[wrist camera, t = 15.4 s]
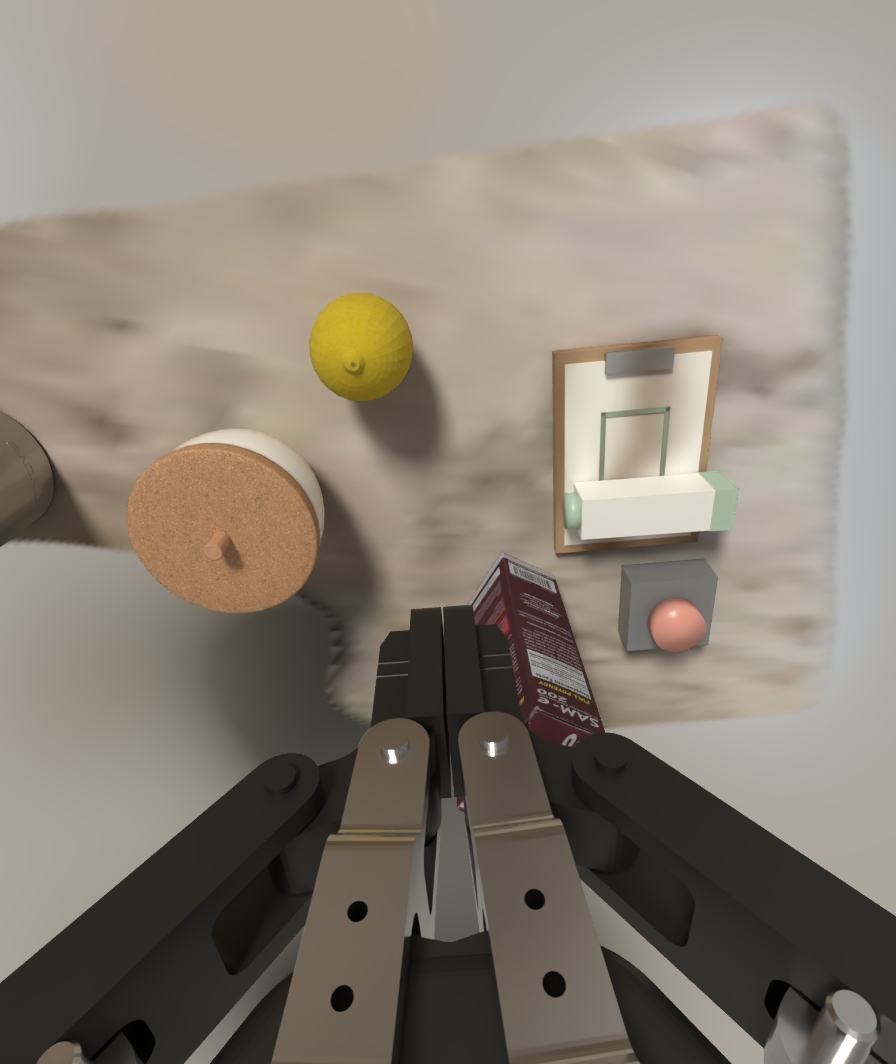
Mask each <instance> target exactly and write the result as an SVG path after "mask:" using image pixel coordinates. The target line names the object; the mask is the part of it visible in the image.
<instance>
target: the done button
mask: <svg viewBox="0 0 896 1064" xmlns="http://www.w3.org/2000/svg"><path fill="white" fill-rule="evenodd" d="M647 624H648V628H649V630H650V632H651V634H652V636H653V638H654V640H655V642H656V644H657V645H658V646H659V647H660V648H662V649H664V650H666V651H670V652H681V651H685V650H688V649H690V648H692V647H694V646H695V645H697V644H698V643H699V642H700V641H701V640H702V638H703V637H704V635H705V633H706V622H705V620H704V618H703V617H702V615H701V614H700V612H699V611H698V609H697V608H696V606H695V605H694V604H693V603H692V602H691V601H689V600H687V599H683V598H671V599H668V600H665V601H663V602H661V603H659V604H658V605H656V606H655V607H654V608H653V609H652V610H651V612H650V614H649V616H648V620H647Z"/></svg>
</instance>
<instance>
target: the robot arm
mask: <svg viewBox="0 0 896 1064" xmlns="http://www.w3.org/2000/svg"><path fill="white" fill-rule="evenodd" d="M53 491H54V480H53V473H52V470H51V467H50V464H49V461H48V459H47V457H46V455H45V454H44V452H43V450H42V448H41V447H40V445H39V444H38V443H37V442H36V440H35V439H34V438H33V437H32V435H31V434H30V433H29V432H28V431H26V430H25V429H24V428H23V427H22V426H21V425H20V424H19V423H18V422H16V421H15V420H13V419H12V418H10V417H9V416H7V415H6V414H4V413H3V412H1V411H0V547H1V546H2V545H4V544H5V543H7V542H8V541H9V540H11V539H12V538H13V537H14V536H16V535H17V534H18V533H20V532H21V531H22V530H24V529H25V528H26V527H28V526H29V525H30V524H32V523H33V522H34V521H36V520H37V519H38V518H40V516H41V515H42V514H43V513H44V512H45V511H46V510H47V509H48V507H49V505H50V503H51V500H52V497H53ZM443 615H444V635H443V624H442V613H441V607H436V608H422V609H411V619H410V630H407V631H393V632H390V633H389V635H388V636H387V637H386V639H385V640H384V642H383V643H382V644H381V646H380V653H379V661H378V663H379V665H378V670H377V679H376V687H375V696H374V704H373V713H372V721H371V728H370V729H369V730H368V731H367V732H366V733H365V734H364V735H363V737H362V739H361V741H360V744H359V747H358V748H357V749H356V750H354V751H353V752H351V753H350V754H348V755H346V756H345V757H342V758H340V759H337V760H335V761H332V762H328V763H326V764H323V765H320V766H317V765H316V764H315V762H314V761H313V760H312V759H311V758H309V757H307V756H305V755H302V754H296V753H288V754H282V755H279V756H275V757H273V758H270V759H268V760H267V761H265V762H263V763H262V764H261V765H259V766H258V767H257V768H256V769H254V770H253V771H252V772H251V773H250V774H248V775H247V776H246V777H245V778H244V779H242V780H241V781H240V782H239V783H238V784H236V785H235V786H234V787H233V788H232V789H231V790H229V791H228V792H227V793H226V794H225V795H224V796H222V797H221V798H220V799H219V800H218V801H216V802H215V803H214V804H213V805H211V806H210V807H209V808H208V809H207V810H206V811H204V812H203V813H202V814H201V815H200V816H198V817H197V818H196V819H195V820H194V821H193V822H191V823H190V824H189V825H188V826H187V827H185V828H184V829H183V830H182V831H181V832H179V833H178V834H177V835H176V836H175V837H173V838H172V839H171V840H170V841H169V842H168V843H167V844H165V845H164V846H163V847H162V848H160V849H159V850H158V851H157V852H156V853H154V854H153V855H152V856H151V857H150V858H148V859H147V860H146V861H145V862H144V863H143V864H142V865H140V866H139V867H138V868H137V869H136V870H134V871H133V872H132V873H131V874H129V875H128V876H127V877H126V878H125V879H124V880H122V881H121V882H120V883H119V884H118V885H116V886H115V887H114V888H113V889H112V890H110V891H109V892H108V893H107V894H106V895H104V896H103V897H102V898H101V899H100V900H98V901H97V902H96V903H95V904H94V905H93V906H91V907H90V908H89V909H88V910H87V911H85V912H84V913H83V914H82V915H81V916H79V917H78V918H77V919H76V920H75V921H74V922H72V923H71V924H70V925H69V926H68V927H66V928H65V929H64V930H63V931H62V932H61V933H60V934H58V935H57V936H56V937H55V938H53V939H52V940H51V941H50V942H49V943H47V944H46V945H45V946H44V947H43V948H41V949H40V950H39V951H38V952H37V953H35V954H34V955H33V956H32V957H31V958H30V959H28V960H27V961H26V962H25V963H24V964H23V965H21V966H20V967H19V968H18V969H17V970H15V971H14V972H13V973H12V974H10V975H9V976H8V977H7V978H6V979H5V980H3V981H2V982H1V983H0V1064H184V1063H185V1061H186V1060H187V1059H188V1058H189V1057H190V1056H191V1055H192V1053H193V1052H194V1051H195V1050H196V1049H197V1048H198V1047H199V1045H200V1044H201V1043H202V1042H203V1041H204V1040H205V1039H206V1037H207V1036H208V1035H209V1034H210V1033H211V1032H212V1031H213V1029H214V1028H215V1027H216V1026H217V1025H218V1024H219V1023H220V1021H221V1020H222V1019H223V1018H224V1017H225V1016H226V1014H227V1013H228V1012H229V1011H230V1010H231V1009H232V1008H233V1007H234V1005H235V1004H236V1003H237V1002H238V1001H239V1000H240V999H241V997H242V996H243V995H244V994H245V993H246V992H247V991H248V989H249V988H250V987H251V986H252V985H253V984H254V983H255V981H256V980H257V979H258V978H259V977H260V976H261V974H262V973H263V972H264V971H265V970H266V969H267V967H269V965H270V964H271V963H272V962H273V961H274V960H275V959H276V957H277V956H278V955H279V954H280V953H281V952H282V951H283V949H284V948H285V947H286V946H287V945H288V944H289V942H290V941H291V940H292V939H293V938H294V937H295V935H296V934H297V933H298V932H299V931H300V930H301V929H302V927H303V926H304V925H305V928H304V932H303V936H302V940H301V944H300V948H299V952H298V956H297V960H296V964H295V968H294V972H292V973H291V974H289V975H288V976H287V977H286V978H284V979H283V980H282V981H281V982H280V983H278V984H277V985H276V986H275V987H274V988H273V989H272V990H271V991H270V992H269V993H268V994H267V995H266V996H265V997H264V998H263V999H262V1000H261V1001H260V1002H259V1003H258V1004H257V1006H256V1007H255V1008H254V1009H253V1011H252V1012H251V1013H250V1014H249V1015H248V1017H247V1018H246V1019H245V1021H244V1022H243V1023H242V1024H241V1025H240V1027H239V1028H238V1029H237V1031H236V1032H235V1033H234V1034H233V1035H232V1037H231V1038H230V1039H229V1040H228V1042H227V1043H226V1044H225V1046H224V1047H223V1048H222V1049H221V1051H220V1052H219V1053H218V1054H217V1055H216V1057H215V1058H214V1059H213V1060H212V1062H211V1063H210V1064H731V1063H730V1062H729V1061H728V1060H727V1059H726V1058H725V1056H724V1055H723V1054H722V1053H721V1052H720V1051H719V1050H718V1049H717V1048H716V1047H715V1046H714V1045H713V1044H712V1043H711V1042H710V1041H709V1040H708V1039H707V1038H706V1037H705V1036H704V1035H703V1034H702V1033H701V1032H700V1031H699V1030H698V1029H697V1027H696V1026H695V1025H694V1024H693V1023H692V1022H691V1021H690V1020H689V1019H688V1018H687V1017H686V1016H685V1015H684V1014H683V1013H682V1012H681V1011H680V1010H679V1009H678V1008H677V1007H676V1006H675V1005H674V1004H673V1003H672V1002H671V1001H670V1000H669V999H668V998H667V997H666V996H665V995H664V993H663V992H662V991H661V990H660V989H659V988H658V987H657V986H656V985H655V984H654V983H653V982H652V981H651V980H650V979H649V978H648V977H647V976H646V975H645V974H644V973H642V972H641V971H640V970H639V969H637V968H636V967H635V966H634V965H633V964H631V963H630V962H629V961H627V960H626V959H624V958H622V957H621V956H619V955H618V954H616V953H615V952H612V951H611V950H609V949H607V948H605V947H603V946H601V945H600V944H599V941H598V937H597V934H596V931H595V927H594V924H593V921H592V918H591V914H590V911H589V908H588V904H587V901H586V898H585V895H584V891H583V888H582V885H581V881H580V879H581V880H582V881H583V882H584V883H586V884H587V885H588V886H589V887H590V888H591V889H592V890H593V891H594V892H595V893H596V894H597V895H598V896H600V897H601V898H602V899H603V900H604V901H605V902H606V903H607V904H608V905H609V906H610V907H612V908H613V909H614V910H615V911H616V912H617V913H618V914H619V915H620V916H621V917H622V918H623V919H625V920H626V921H627V922H628V923H629V924H630V925H631V926H632V927H633V928H634V929H635V930H636V931H637V932H639V933H640V934H641V935H642V936H643V937H644V938H645V939H646V940H647V941H648V942H649V943H650V944H652V945H653V946H654V947H655V948H656V949H657V950H658V951H659V952H660V953H661V954H663V956H664V957H666V958H667V959H668V960H669V961H670V962H671V963H672V964H673V965H674V966H675V967H677V969H679V970H680V971H681V972H682V973H683V974H684V975H685V976H686V977H687V978H688V979H689V980H690V981H692V982H693V983H694V984H695V985H696V986H697V987H698V988H699V989H700V990H701V991H702V992H704V993H705V994H706V995H707V996H708V997H709V998H710V999H711V1000H712V1001H713V1002H714V1003H715V1004H716V1005H718V1006H719V1007H720V1008H721V1009H722V1010H723V1011H724V1012H725V1013H726V1014H727V1015H728V1016H729V1017H731V1018H732V1019H733V1020H734V1021H735V1022H736V1023H737V1024H738V1025H739V1026H740V1027H741V1028H742V1029H744V1030H745V1031H746V1032H747V1033H748V1034H749V1035H750V1036H751V1037H752V1038H753V1039H754V1040H756V1041H757V1042H758V1043H759V1044H760V1045H761V1046H762V1047H763V1048H764V1064H896V916H894V915H893V914H891V913H890V912H888V911H887V910H885V909H884V908H882V907H881V906H879V905H878V904H876V903H875V902H873V901H872V900H870V899H869V898H867V897H866V896H864V895H863V894H861V893H860V892H858V891H857V890H855V889H854V888H852V887H851V886H849V885H848V884H846V883H845V882H843V881H842V880H840V879H839V878H837V877H836V876H834V875H833V874H831V873H830V872H828V871H827V870H825V869H824V868H822V867H821V866H819V865H818V864H816V863H815V862H813V861H812V860H810V859H809V858H807V857H806V856H804V855H803V854H801V853H800V852H798V851H797V850H795V849H794V848H792V847H791V846H789V845H788V844H786V843H785V842H783V841H782V840H780V839H779V838H777V837H776V836H774V835H773V834H771V833H770V832H768V831H767V830H765V829H764V828H762V827H761V826H759V825H758V824H756V823H755V822H753V821H752V820H750V819H749V818H747V817H746V816H744V815H743V814H741V813H740V812H738V811H737V810H735V809H734V808H732V807H731V806H729V805H728V804H726V803H725V802H723V801H722V800H720V799H719V798H717V797H716V796H714V795H713V794H711V793H710V792H708V791H707V790H705V789H704V788H702V787H701V786H699V785H698V784H696V783H695V782H693V781H692V780H690V779H689V778H687V777H686V776H684V775H683V774H681V773H680V772H678V771H677V770H675V769H674V768H672V767H671V766H669V765H668V764H666V763H665V762H663V761H662V760H660V759H659V758H657V757H656V756H654V755H653V754H651V753H650V752H648V751H647V750H645V749H644V748H642V747H641V746H639V745H637V744H636V743H635V742H633V741H632V740H630V739H628V738H626V737H624V736H621V735H617V734H614V733H595V734H591V735H588V736H586V737H584V738H583V739H581V740H580V741H579V742H578V743H577V744H576V746H575V747H571V746H566V745H561V744H557V743H553V742H550V741H547V740H544V739H543V738H541V737H539V736H537V735H536V734H535V733H533V732H532V731H531V730H530V729H529V728H528V726H527V725H526V724H525V722H524V720H523V717H522V713H521V708H520V702H519V697H518V692H517V686H516V681H515V675H514V670H513V665H512V659H511V655H510V648H509V643H508V638H507V636H506V635H505V634H504V632H503V631H502V630H501V629H500V628H499V627H498V626H497V624H489V625H475V620H474V611H473V605H462V606H448V607H443ZM444 644H445V646H444ZM449 742H450V745H449ZM450 753H451V764H452V773H453V785H454V795H455V797H463V803H464V815H465V827H466V837H467V844H468V851H469V857H470V865H471V872H472V879H473V886H474V893H475V900H476V907H477V915H478V922H479V930H480V933H477V934H475V935H472V936H469V937H466V938H463V939H460V940H458V941H454V942H442V941H438V940H434V925H435V908H436V907H435V906H436V893H437V877H438V862H439V846H440V824H441V798H451V773H450Z"/></svg>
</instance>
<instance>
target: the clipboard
mask: <svg viewBox="0 0 896 1064" xmlns="http://www.w3.org/2000/svg"><path fill="white" fill-rule="evenodd" d="M722 339H723V338H722V337H720V336H717V335H716V336H706V337H695V338H685V339H674V340H663V341H653V342H642V343H632V344H621V345H611V346H600V347H589V348H579V349H568V350H558V351H552V354H553V490H554V550H555V553H567V552H579V551H591V550H603V549H616V548H628V547H640V546H652V545H664V544H676V543H688V542H697V540H698V532H699V531H696V532H682V533H668V534H654V535H641V536H627V537H613V538H599V539H586V540H581V538H580V536H579V533H578V531H577V529H573V530H566V529H565V526H564V522H563V515H562V497H563V494H564V493H574V483H576V482H589V481H602V480H615V479H629V478H642V477H655V476H668V475H681V474H695V473H698V472H706V468H707V460H708V452H709V444H710V436H711V427H712V419H713V411H714V403H715V395H716V387H717V379H718V371H719V363H720V355H721V347H722Z"/></svg>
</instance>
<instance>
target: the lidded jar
mask: <svg viewBox="0 0 896 1064" xmlns="http://www.w3.org/2000/svg"><path fill="white" fill-rule="evenodd" d="M324 512H325V511H324V504H323V496H322V492H321V489H320V486H319V483H318V481H317V479H316V477H315V475H314V473H313V471H312V470H311V468H310V467H309V465H308V464H307V463H306V461H305V460H304V459H303V458H302V457H301V456H300V455H299V454H298V453H297V452H296V451H295V450H294V449H292V448H291V447H290V446H289V445H287V444H286V443H284V442H282V441H281V440H279V439H277V438H275V437H273V436H270V435H268V434H265V433H261V432H258V431H254V430H247V429H222V430H217V431H212V432H208V433H205V434H202V435H199V436H197V437H194V438H192V439H190V440H188V441H186V442H185V443H183V444H181V445H180V446H178V447H176V448H175V449H173V450H172V451H171V452H169V453H168V454H166V455H164V456H163V457H161V458H159V459H158V460H157V461H156V462H154V463H153V464H152V465H151V466H150V467H149V468H148V469H146V470H145V471H144V472H143V474H142V475H141V476H140V478H139V479H138V480H137V482H136V483H135V485H134V487H133V489H132V491H131V494H130V497H129V501H128V505H127V526H128V533H129V536H130V539H131V542H132V545H133V547H134V550H135V552H136V554H137V556H138V558H139V559H140V561H141V562H142V564H143V565H144V566H145V568H146V569H147V570H148V571H149V573H150V574H151V575H152V576H153V577H154V578H155V579H156V580H157V581H158V582H159V583H160V584H162V585H163V586H164V587H165V588H166V589H168V590H169V591H171V592H172V593H174V594H175V595H177V596H178V597H180V598H182V599H184V600H186V601H188V602H190V603H192V604H195V605H198V606H200V607H203V608H206V609H210V610H215V611H219V612H228V613H249V612H255V611H262V610H265V609H268V608H271V607H274V606H276V605H278V604H280V603H282V602H285V601H286V600H288V599H289V598H290V597H292V596H293V595H295V594H296V593H297V592H298V591H299V590H300V589H301V588H302V587H303V586H304V584H305V583H306V581H307V580H308V578H309V577H310V575H311V573H312V571H313V568H314V566H315V564H316V561H317V557H318V553H319V548H320V543H321V539H322V534H323V529H324Z"/></svg>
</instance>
